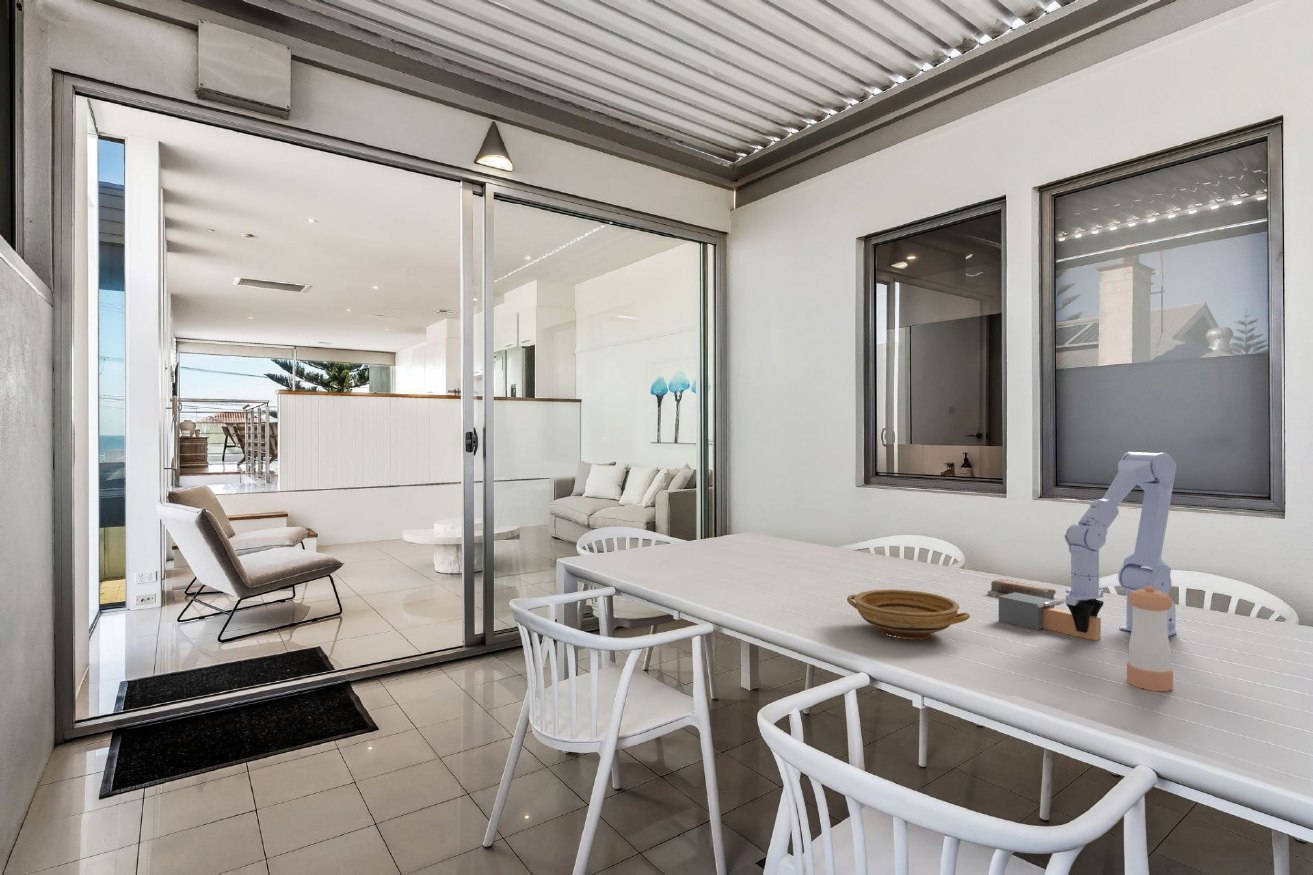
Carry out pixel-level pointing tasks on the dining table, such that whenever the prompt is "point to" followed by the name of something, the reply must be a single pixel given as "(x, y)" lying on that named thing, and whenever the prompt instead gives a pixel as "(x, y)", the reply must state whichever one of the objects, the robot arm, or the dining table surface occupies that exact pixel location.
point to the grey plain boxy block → (1023, 609)
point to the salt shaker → (1149, 641)
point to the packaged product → (1021, 589)
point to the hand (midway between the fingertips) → (1084, 630)
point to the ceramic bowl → (907, 612)
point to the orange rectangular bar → (1069, 623)
